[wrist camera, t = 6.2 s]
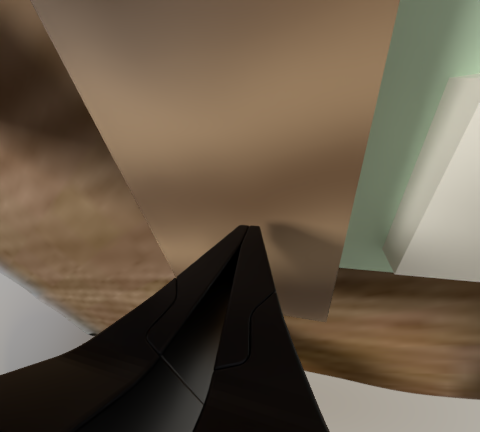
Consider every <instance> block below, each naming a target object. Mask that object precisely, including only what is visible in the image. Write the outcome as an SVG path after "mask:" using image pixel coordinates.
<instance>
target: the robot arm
mask: <svg viewBox="0 0 480 432" xmlns="http://www.w3.org/2000/svg"><path fill="white" fill-rule="evenodd" d="M0 432H329V429H328V427H327V425H326V423H325V421H324V418H323V416H322V414H321V412H320V409H319V407H318V404H317V402H316V399H315V397H314V394H313V392H312V390H311V387H310V384H309V382H308V380H307V377H306V375H305V372H304V369H303V367H302V364H301V362H300V359H299V357H298V354H297V352H296V349H295V347H294V345H293V342H292V339H291V337H290V334H289V331H288V328H287V326H286V323H285V320H284V317H283V313H282V310H281V307H280V303H279V299H278V295H277V293H276V288H275V284H274V280H273V276H272V272H271V268H270V264H269V260H268V256H267V252H266V249H265V245H264V241H263V237H262V233H261V229H260V226H254V225H251V226H249V225H239V226H238V227H236V228H235V229H234V230H233V231H232V232H230V233H229V234H228V235H227V236H225V237H224V238H223V239H222V240H221V241H219V242H218V243H217V244H216V245H214V246H213V247H212V248H211V249H210V250H208V251H207V252H206V253H205V254H203V255H202V256H201V257H200V258H199V259H197V260H196V261H195V262H194V263H193V264H191V265H190V266H189V267H188V268H186V269H185V270H184V271H183V272H182V273H180V274H179V275H178V276H177V278H174V279H173V280H172V281H170V282H169V283H168V284H167V285H166V286H164V287H163V288H162V289H160V290H159V291H158V292H157V293H155V294H154V295H153V296H151V297H150V298H149V299H147V300H146V301H145V302H143V303H142V304H140V305H139V306H138V307H136V308H135V309H133V310H132V311H131V312H129V313H128V314H126V315H125V316H123V317H122V318H121V319H119V320H118V321H116V322H115V323H113V324H112V325H111V326H109V327H108V328H106V329H105V330H103V331H102V332H101V333H99V334H98V335H96V336H95V337H93V338H92V339H90V340H89V341H87V342H86V343H84V344H82V345H81V346H79V347H77V348H75V349H73V350H71V351H69V352H67V353H64V354H62V355H59V356H57V357H54V358H51V359H48V360H45V361H42V362H39V363H36V364H33V365H30V366H27V367H24V368H21V369H18V370H15V371H12V372H9V373H6V374H3V375H0Z"/></svg>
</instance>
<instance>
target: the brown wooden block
mask: <svg viewBox="0 0 480 432" xmlns="http://www.w3.org/2000/svg"><path fill="white" fill-rule="evenodd" d="M30 1H31V3H32V5H33V6H34V8H35V10H36V12H37V14H38V16H39V18H40V20H41V22H42V24H43V25H44V27H45V29H46V31H47V33H48V35H49V37H50V39H51V41H52V43H53V45H54V46H55V48H56V50H57V52H58V54H59V56H60V58H61V60H62V62H63V64H64V65H65V67H66V69H67V71H68V73H69V75H70V77H71V79H72V81H73V83H74V85H75V86H76V88H77V90H78V92H79V94H80V96H81V98H82V100H83V102H84V104H85V105H86V107H87V109H88V111H89V113H90V115H91V117H92V119H93V121H94V123H95V125H96V126H97V128H98V130H99V132H100V134H101V136H102V138H103V140H104V142H105V144H106V145H107V147H108V149H109V151H110V153H111V155H112V157H113V159H114V161H115V163H116V164H117V166H118V168H119V170H120V172H121V174H122V176H123V178H124V180H125V182H126V184H127V185H128V187H129V189H130V191H131V193H132V195H133V197H134V199H135V201H136V203H137V204H138V206H139V208H140V210H141V212H142V214H143V216H144V218H145V220H146V222H147V224H148V225H149V227H150V229H151V231H152V233H153V235H154V237H155V239H156V241H157V243H158V244H159V246H160V248H161V250H162V252H163V254H164V256H165V258H166V260H167V262H168V264H169V265H170V267H171V269H172V271H173V273H174V275H175V277H176V278H177V276H178V275H179V274H180V273H182V272H183V271H184V270H185V269H186V268H188V267H189V266H190V265H191V264H193V263H194V262H195V261H196V260H197V259H199V258H200V257H201V256H202V255H203V254H205V253H206V252H207V251H208V250H210V249H211V248H212V247H213V246H214V245H216V244H217V243H218V242H219V241H221V240H222V239H223V238H224V237H225V236H227V235H228V234H229V233H230V232H232V231H233V230H234V229H235V228H236V227H238V226H239V225H249V226H251V225H254V226H260V229H261V233H262V237H263V241H264V245H265V249H266V252H267V256H268V260H269V264H270V268H271V272H272V276H273V280H274V284H275V288H276V293H277V295H278V299H279V303H280V307H281V310H282V313H283V315H285V316H291V317H297V318H303V319H309V320H315V321H321V322H327V317H328V313H329V308H330V304H331V300H332V295H333V291H334V287H335V282H336V278H337V273H338V269H339V265H340V260H341V256H342V252H343V247H344V243H345V238H346V234H347V230H348V225H349V221H350V217H351V212H352V208H353V203H354V199H355V195H356V190H357V186H358V182H359V177H360V173H361V168H362V164H363V160H364V155H365V151H366V147H367V142H368V138H369V133H370V129H371V125H372V120H373V116H374V112H375V107H376V103H377V98H378V94H379V90H380V85H381V81H382V77H383V72H384V68H385V63H386V59H387V55H388V50H389V46H390V42H391V37H392V33H393V28H394V24H395V20H396V15H397V11H398V7H399V2H400V0H30Z"/></svg>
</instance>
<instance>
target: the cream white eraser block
mask: <svg viewBox="0 0 480 432" xmlns="http://www.w3.org/2000/svg"><path fill="white" fill-rule="evenodd" d="M382 250H383V252H384V254H385V256H386V258H387V260H388V262H389V264H390V266H391V268H392V270H393V272H394V274H397V275H407V276H418V277H429V278H440V279H451V280H461V281H472V282H480V73H479V74H472V75H465V76H457V77H450V78H449V79H448V82H447V85H446V87H445V90H444V92H443V95H442V97H441V100H440V102H439V105H438V108H437V110H436V113H435V115H434V118H433V120H432V123H431V125H430V128H429V131H428V133H427V136H426V138H425V141H424V143H423V146H422V148H421V151H420V154H419V156H418V159H417V161H416V164H415V166H414V169H413V171H412V174H411V177H410V179H409V182H408V184H407V187H406V189H405V192H404V194H403V197H402V200H401V202H400V205H399V207H398V210H397V212H396V215H395V217H394V220H393V223H392V225H391V228H390V230H389V233H388V235H387V238H386V240H385V243H384V246H383V248H382Z"/></svg>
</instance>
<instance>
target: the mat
mask: <svg viewBox="0 0 480 432" xmlns="http://www.w3.org/2000/svg"><path fill="white" fill-rule="evenodd" d="M479 73H480V0H400V2H399V7H398V11H397V15H396V20H395V24H394V28H393V33H392V37H391V42H390V46H389V50H388V55H387V59H386V63H385V68H384V72H383V77H382V81H381V85H380V90H379V94H378V98H377V103H376V107H375V112H374V116H373V120H372V125H371V129H370V133H369V138H368V142H367V147H366V151H365V155H364V160H363V164H362V168H361V173H360V177H359V182H358V186H357V190H356V195H355V199H354V203H353V208H352V212H351V217H350V221H349V225H348V230H347V234H346V238H345V243H344V247H343V252H342V256H341V260H340V265H339V268H349V269H360V270H371V271H382V272H393V270H392V268H391V266H390V264H389V262H388V260H387V258H386V256H385V254H384V252H383V250H382V248H383V246H384V243H385V240H386V238H387V235H388V233H389V230H390V228H391V225H392V223H393V220H394V217H395V215H396V212H397V210H398V207H399V205H400V202H401V200H402V197H403V194H404V192H405V189H406V187H407V184H408V182H409V179H410V177H411V174H412V171H413V169H414V166H415V164H416V161H417V159H418V156H419V154H420V151H421V148H422V146H423V143H424V141H425V138H426V136H427V133H428V131H429V128H430V125H431V123H432V120H433V118H434V115H435V113H436V110H437V108H438V105H439V102H440V100H441V97H442V95H443V92H444V90H445V87H446V85H447V82H448V79H449V78H450V77H457V76H465V75H472V74H479ZM393 273H394V272H393Z"/></svg>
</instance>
